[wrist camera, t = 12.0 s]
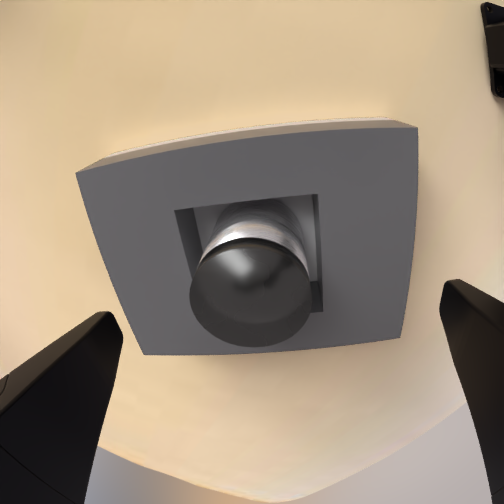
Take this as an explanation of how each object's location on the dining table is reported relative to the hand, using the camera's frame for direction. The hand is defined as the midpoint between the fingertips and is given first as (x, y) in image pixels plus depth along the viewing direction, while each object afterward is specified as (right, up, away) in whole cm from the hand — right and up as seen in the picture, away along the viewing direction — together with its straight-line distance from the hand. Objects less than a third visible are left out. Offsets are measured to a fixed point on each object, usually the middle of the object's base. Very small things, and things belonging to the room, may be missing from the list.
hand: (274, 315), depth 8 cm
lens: (0, +2, +10) cm, 11 cm away
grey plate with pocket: (0, +3, +12) cm, 12 cm away
